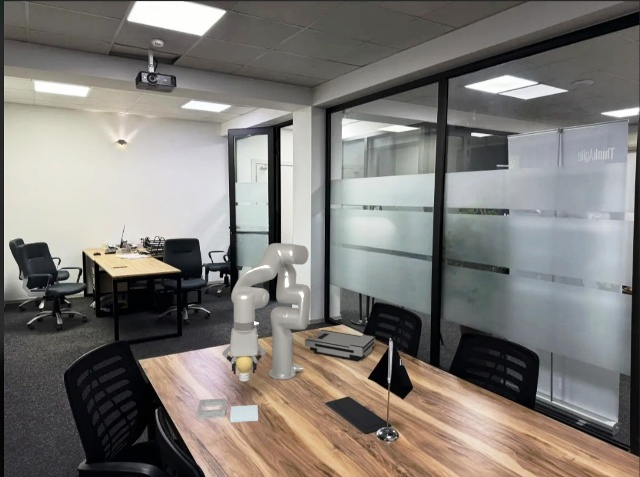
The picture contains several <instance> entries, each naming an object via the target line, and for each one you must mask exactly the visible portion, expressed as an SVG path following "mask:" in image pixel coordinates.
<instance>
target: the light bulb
mask: <svg viewBox="0 0 640 477" xmlns="http://www.w3.org/2000/svg"><path fill="white" fill-rule="evenodd" d="M235 364H236V370H238V371H239V373H238V380H239V381H240V382H242V383H243V382H246V383H247V382H248V381H249V380H250V370H251V369H252V368H253V358H252V356H246V357H236V360H235Z"/></svg>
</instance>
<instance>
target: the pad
mask: <svg viewBox="0 0 640 477" xmlns="http://www.w3.org/2000/svg"><path fill="white" fill-rule="evenodd" d="M257 421H259V409H258V404H250V405H249V404H248V405H235V406H234V405H233V406H230V418H229V423H242V422H257Z"/></svg>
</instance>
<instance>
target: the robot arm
mask: <svg viewBox="0 0 640 477" xmlns="http://www.w3.org/2000/svg"><path fill="white" fill-rule="evenodd" d="M308 260H309V250H308V247H306V246H305V245H301V244H300V245H299V244H294V243H281V242H279V243H278V242H275V243H271V244H269V245H268V246H267V247H266V249H265V251H264V253H263V255H262V257H261V259H260V260H259V262H258V265H256V266H255V267H252V268H251V269H250V270H248V271H247V272H245V273H244V274H242V275H241V276H240V277H239V278H238V279H237V281H236V283H235V285H234V287H233V289H232V292H231V294H230V295H231V297H230V299H231V302H232V304H233V328H231V332H230V345H229V346H227V348H226V349H225V350H224V351H222V356H223V357H224V358H225V359H226V360H227V361H228V362H230V364H231V372H233V374H232V375H236V374H237V373H236V371H237V367H236V364H235V362H236V359H237V357H246V356H251V357H252V359H253V365H252V373H253V374H256V373H255V372H256V371H257V368H258V367H257V363H258V361H260V360H261V359H262V357H263V356H265V354H266V349H265V348H263V347H262V346H261V345H259V338H258V337H259V335H258V329H257V326H259V323H260V322H259V321H256V319H255V318H256V316H255V313H256V312H255V310H257V309H262V308H265V306H266V305H268V303H269V300H270V293H269V291H268V290H267V289H265V288H263V287H261V288H260V287H253V286H255V285H257V284H261V283H265V282H268V281H270V280H273V279H275V277H276V276H277V283H276V291H275V292H276V294H275V295H276V296H275V298H276V301H277V302H278V303H280V304H284V305H293V306H298V307H289V306H276V307H274V308H273V309H272V310H271V312H270V323H271V330H272V332H271V333H272V344H271V345H272V347H271V348H272V350H271V351H272V352H271V353H272V354H271V356H272V357H271V358H272V359H271V361H272V363H271V369H270V370H269V371H268V375H269V377H270V378H272V379H274V380H281V381H284V380H290V379H293V378H294V377H296V375H297V372H298V371H299V372H302V371H304V366H303V365H302V366H301V365H300V364H297V365H296V364H294V335H293V333H292V330H295V331H303V330H305V329H307V328H308V326H309V321H310V310H311V301H312V300H311V299H312V296H311V295H312V293H311V289H310V286H308V285H307V284H303V283H302V284H301V283H297V271H296V269H295V268H296V267H294V265H305V264H306V263H307V262H308ZM229 352H230V354H229ZM259 352H260V353H259Z"/></svg>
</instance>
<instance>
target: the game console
mask: <svg viewBox="0 0 640 477" xmlns="http://www.w3.org/2000/svg"><path fill="white" fill-rule="evenodd" d="M375 345H376V335H371V334H365V333H363V334H362V335H358V334H351V333H345V332H339V331H333V330H327V329H320V330H318V331H317V337H312V336H311V337H310V336H309V337H307V338H306V339H304V347H307V348H308V347H309V350H310V351H313V354H315V355H321V356H326V357H331V358H336V359H341V360H348V361H351V362H352V361H353V362H359V361H360V360H363V359H364V358H365V357H367V356H368V355H370V353H371V352H372V351H373V349H375Z"/></svg>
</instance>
